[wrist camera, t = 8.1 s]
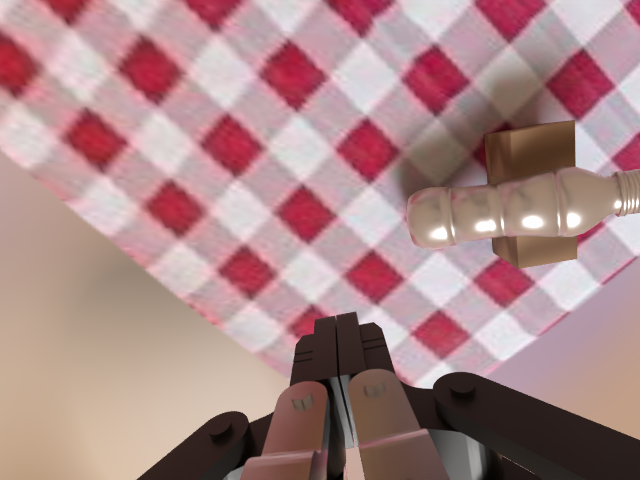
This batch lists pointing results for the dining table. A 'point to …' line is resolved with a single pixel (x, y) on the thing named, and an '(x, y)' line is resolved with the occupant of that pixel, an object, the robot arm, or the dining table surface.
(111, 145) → the dining table surface
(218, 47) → the dining table surface
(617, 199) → the silver metal bottle
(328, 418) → the robot arm
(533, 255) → the u rest
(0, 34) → the dining table surface
